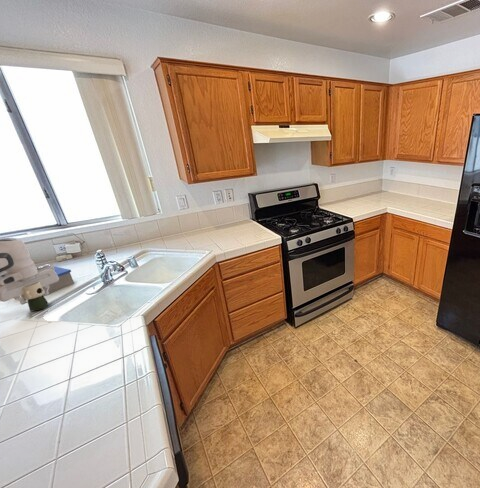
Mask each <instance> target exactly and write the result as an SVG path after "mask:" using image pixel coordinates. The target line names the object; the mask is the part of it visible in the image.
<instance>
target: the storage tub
mask: <svg viewBox="0 0 480 488" xmlns="http://www.w3.org/2000/svg"><path fill="white" fill-rule="evenodd" d="M52 266H53V267H54V269H55V272H56V274H57V275H58V277H59V281H58V282H55V283H52V284H50V285H49V286H50V287H49V290H48V292H49V294H52V293H53V292H57V291H58V290H61V289H63V288H66V287H68V286H71V285H73V284H75V281H74V279H73V276H72V274H71V272H72V270H71V269H69V268H63V267H60V266H59V267H58V266H54V265H52ZM42 288H43V290H44V289H45V288H44V287H42ZM42 296H43V297H44V296H45V295H42Z"/></svg>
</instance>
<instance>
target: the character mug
mask: <svg viewBox="0 0 480 488" xmlns="http://www.w3.org/2000/svg"><path fill="white" fill-rule="evenodd" d="M22 289H23V291H24V293H25V294H23V295H21V296H20V297H21V298H22V299H24V300H26V302H27V305H28V309H29V311H31V312H34V311H40V310H44V309H46V308H48V307H49V305H50V304H49V302H48V300H47V299H46V298H45V297H44V296H42V295H43V294H44V293H45V292H44V290H43V288H42V286H41V284H40V282H38V283H36V284H34V285H32V286H28V287H23V288H22Z"/></svg>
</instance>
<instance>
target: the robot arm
mask: <svg viewBox="0 0 480 488" xmlns="http://www.w3.org/2000/svg"><path fill="white" fill-rule="evenodd" d="M53 266H54V265H53V264H44V265H42V266H41V265H40V266H38V267H37V266H36V263H35V262H34V261H33V260H32V257H31V253H30V251H29V249H28V246H27V245H26V244H25V242H24V241H23V240H22V239H20V238H17V237H2V238H1V237H0V302H7V301H10V300H13V299H14V300H16V301H18V302H19V303H20V305H25V304H28V302H27V300H24V299H23V298H22V296H21V295H23V294H25V293H24V291H23V289H22V288H23V287H28V286H32V285H34V284H36V283H38V282H40V284H41V286H42V287H44V288H45V289H44V292H45V293H44V294H43V295H44V296H47V295H50V293H49V292H48V290H49V287H50V286H49V285H50V284H52V283H55V282H58V281H59V277H58V275H57V274H56V272H55V269H54V267H53ZM21 298H22V299H21Z"/></svg>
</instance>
